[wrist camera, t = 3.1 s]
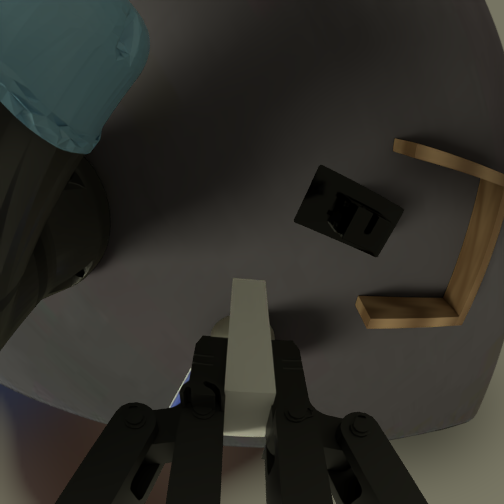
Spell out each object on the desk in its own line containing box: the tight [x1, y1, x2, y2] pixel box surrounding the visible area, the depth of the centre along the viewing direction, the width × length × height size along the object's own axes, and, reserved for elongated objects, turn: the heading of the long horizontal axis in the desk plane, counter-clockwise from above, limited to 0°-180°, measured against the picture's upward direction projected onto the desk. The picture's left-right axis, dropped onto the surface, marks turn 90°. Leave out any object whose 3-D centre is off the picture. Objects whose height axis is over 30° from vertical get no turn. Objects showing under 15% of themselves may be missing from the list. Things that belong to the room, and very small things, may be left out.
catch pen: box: [355, 139, 504, 329], centre depth 25 cm, size 13×17×4 cm
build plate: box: [294, 165, 404, 257], centre depth 25 cm, size 12×7×5 cm, turn 67°
